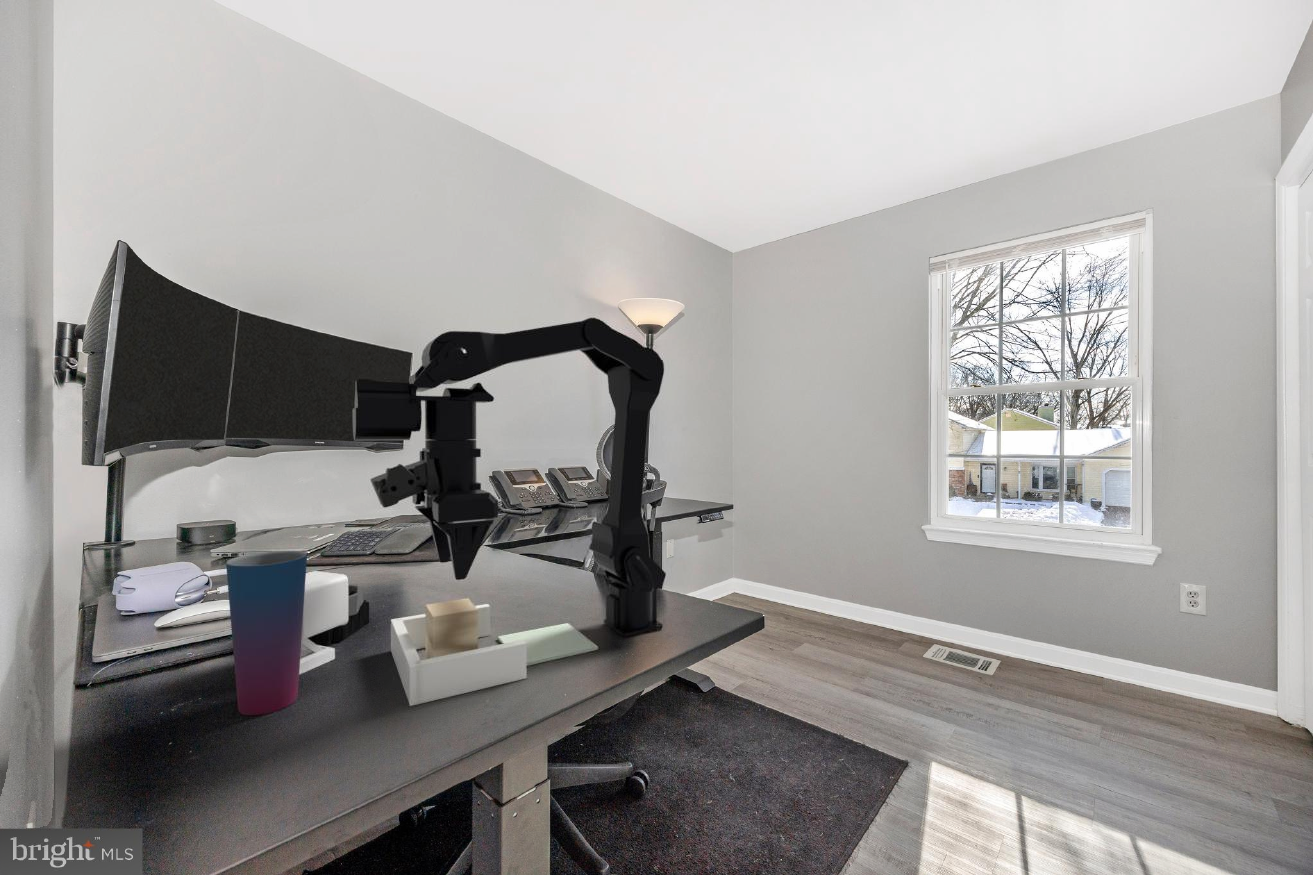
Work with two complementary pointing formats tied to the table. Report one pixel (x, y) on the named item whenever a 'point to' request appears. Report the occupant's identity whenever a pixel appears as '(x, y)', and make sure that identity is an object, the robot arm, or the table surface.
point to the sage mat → (551, 643)
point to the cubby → (452, 662)
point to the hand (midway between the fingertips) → (451, 570)
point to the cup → (266, 627)
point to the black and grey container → (356, 619)
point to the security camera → (322, 615)
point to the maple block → (451, 628)
